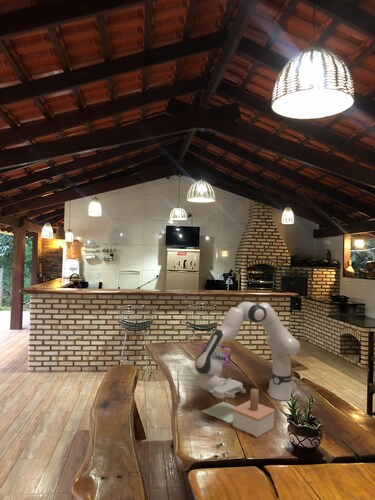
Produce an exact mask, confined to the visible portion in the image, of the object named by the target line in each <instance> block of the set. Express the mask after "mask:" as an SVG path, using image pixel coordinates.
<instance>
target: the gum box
mask: <svg viewBox="0 0 375 500" xmlns="http://www.w3.org/2000/svg"><path fill="white" fill-rule="evenodd" d="M207 343H208V342H205V343H202V344H201V345H200V346H201V347H200V348H201V349H200V350H201V351H200V354H201V353H202V352H203V350H204V348H205V346H206V345H207ZM231 353H232V347H231V346H225V345H221V344H220V345H219V346H218V347H217V349H216V351H215V352H214V354H213V356H212V358H214V359H217V360H219V361H221V363H222V365H223V367H228V366H230V364H231Z"/></svg>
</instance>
